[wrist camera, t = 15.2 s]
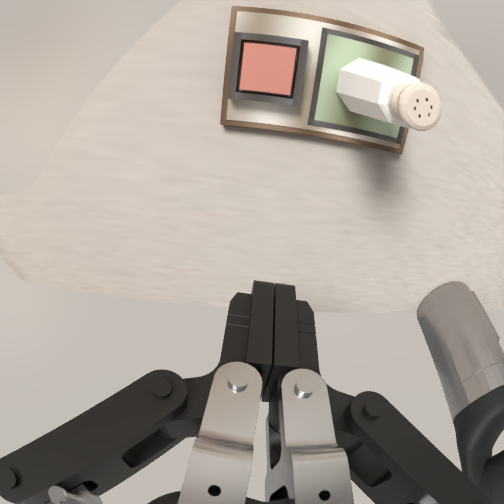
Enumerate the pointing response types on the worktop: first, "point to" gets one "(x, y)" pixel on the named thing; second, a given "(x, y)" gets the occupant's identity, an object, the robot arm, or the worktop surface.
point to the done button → (267, 68)
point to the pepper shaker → (388, 95)
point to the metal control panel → (312, 76)
